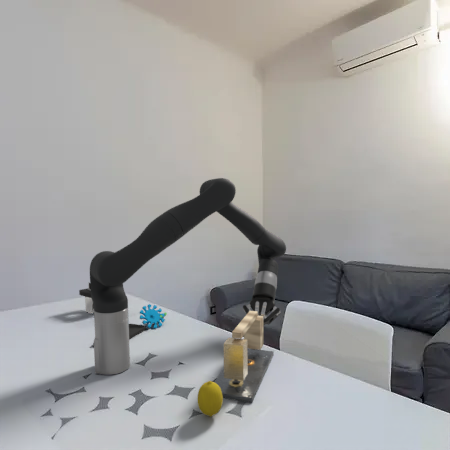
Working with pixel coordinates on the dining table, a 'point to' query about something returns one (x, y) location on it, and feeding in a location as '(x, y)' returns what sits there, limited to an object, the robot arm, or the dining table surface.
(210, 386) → the lemon
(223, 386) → the bolt plate
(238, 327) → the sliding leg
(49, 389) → the dining table surface
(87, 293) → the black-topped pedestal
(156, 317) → the blue knobbed spoke wheel
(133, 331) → the smart home device
